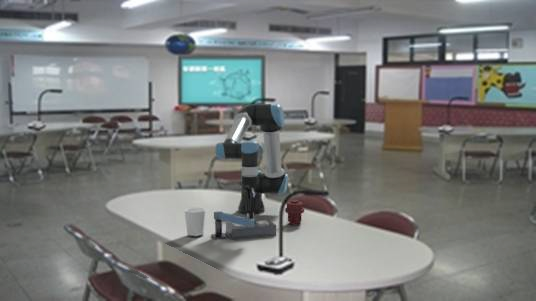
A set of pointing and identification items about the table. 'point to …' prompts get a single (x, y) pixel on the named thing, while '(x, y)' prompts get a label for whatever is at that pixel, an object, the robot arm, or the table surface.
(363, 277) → the table surface
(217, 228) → the pivot post
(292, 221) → the mechanical component
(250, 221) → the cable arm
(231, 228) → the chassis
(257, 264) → the table surface
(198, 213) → the cup
